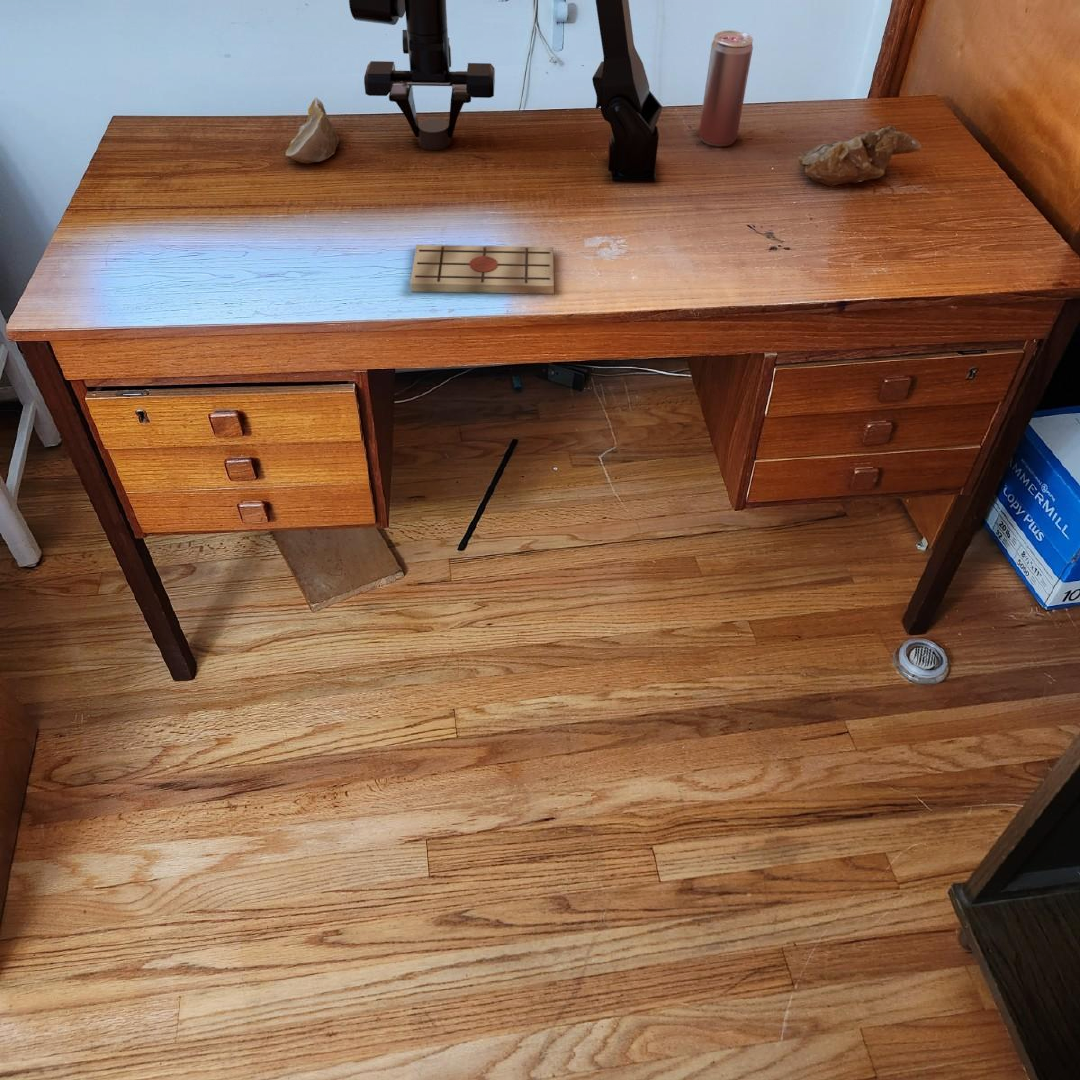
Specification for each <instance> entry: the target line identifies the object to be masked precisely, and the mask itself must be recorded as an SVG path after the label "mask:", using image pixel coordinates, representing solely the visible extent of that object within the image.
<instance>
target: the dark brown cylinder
mask: <svg viewBox="0 0 1080 1080" xmlns="http://www.w3.org/2000/svg"><path fill="white" fill-rule="evenodd" d="M417 138H418V145H419V146H420V148H422V149H425V150H427V151H441V150H443V149H446V148H448V147H449V146H450V144H451V138H449V121H447V120H446V119H443V118H439V117H430V118H425V119H422V120H420V121H418V137H417Z"/></svg>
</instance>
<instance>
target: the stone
mask: <svg viewBox="0 0 1080 1080" xmlns="http://www.w3.org/2000/svg"><path fill="white" fill-rule="evenodd" d="M307 111H308V112H307V114H308V117H307V120H306V122H305V123H304V124H302V125H301V126H300V127H299V129H298V132H297V134H296V135H295V137H294V138H293V139H291V141H290V144H289V146H288V148H287V149H286V150H285V156H286V157H287V158H290V159H291V160H294V161H296V162H298V163H301V164H313V163H319V162H322V161H323V162H324V161H325V160H327V159H329V158H330V157H331V156H333V155H334V154H335V153H336V150H337V147H338V144H339V136H338V134H337V132H336V130H335V127H334V125H333V123H332V122H331V120H330V118H329V116H328V115H327V112H326V109H325V106H324V103H323V102H322V101H321V100H320V99H319V98H317V97H314V99H313V100H312V102H311V104H310V105H309V107H308V109H307Z"/></svg>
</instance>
